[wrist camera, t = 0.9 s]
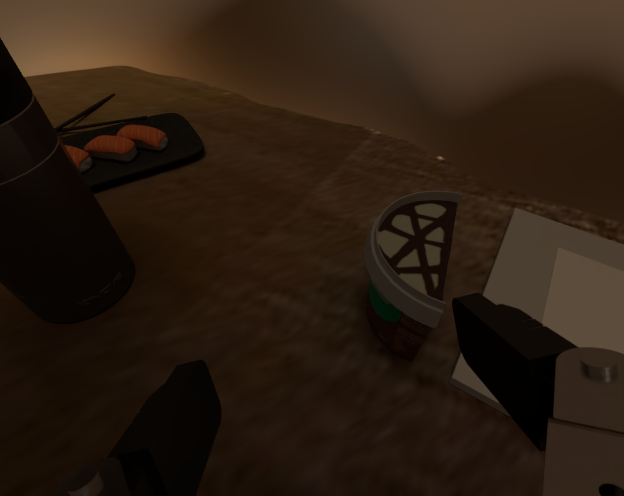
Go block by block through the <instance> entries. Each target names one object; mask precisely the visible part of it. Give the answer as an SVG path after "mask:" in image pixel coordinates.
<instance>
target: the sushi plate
mask: <svg viewBox="0 0 624 496" xmlns="http://www.w3.org/2000/svg"><path fill="white" fill-rule="evenodd" d="M114 95H115V94H112V95H110V96H108V97H106V98H105V99H103V100H101V101H100V102H98V103H96V104H95V105H93V106H91V107H90V108H88V109H86V110H85V111H83V112H81V113H80V114H78V115H76V116H75V117H73V118H71V119H70V120H68V121H66V122H65V123H63V124H61V125H60V126H58V127H56V128H55V131H56V132H57V133H60V132H66V131H72V130H78V129H84V128H90V127H96V126H102V125H108V124H114V123H121V122H125V123H121V124H117V125H112V126H108V127H104V128H100V129H96V130H92V131H87V132H83V133H79V134H75V135H71V136H67V137H63V138H60V139H61V141H62V142H63V144H64V146H65V147H66V149H67V151H68V152H69V154H70V156H71V157H72V159H73V161H74V162H75V164H76V166H77V167H78V169H79V171H80V173H81V174H82V176H83V178H84V179H85V181H86V183H87V184H88V186H89V188H90V189H91V188H94V187H98V186H101V185H104V184H108V183H111V182H115V181H118V180H121V179H125V178H128V177H131V176H135V175H138V174H141V173H145V172H148V171H152V170H155V169H158V168H162V167H165V166H168V165H171V164H175V163H178V162H181V161H184V160H187V159H190V158H192V157H194V156H196V155H198V154H200V153H201V152H202V151H203V143H202V140H201V139H200V137H199V136H198V134H197V133H196V131H195V130H194V129H193V128H192V126H191V125H190V124H189V123H188V121H187V120H186V119H185V118H184V117H182V116H181V115H179V114H176V113H166V114H160V115H155V116H150V117H147V116H142V117H136V118H129V119H123V120H116V121H110V122H103V123H96V124H90V125H83V126H77V127H70V128H63V127H65V126H67V125H68V124H70V123H72V122H74V121H75V120H77V119H79V118H81V117H83V116H84V115H86V114H88V113H90V112H92V111H93V110H95V109H97V108H99V107H100V106H102V105H103V104H104V103H105V102H107V101H108V100H109V99H111V98H112V97H113V96H114ZM127 121H129V122H127ZM61 128H63V129H61Z"/></svg>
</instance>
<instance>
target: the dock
mask: <svg viewBox="0 0 624 496" xmlns="http://www.w3.org/2000/svg"><path fill="white" fill-rule="evenodd" d="M482 295H483V296H484V297H486V298H487V299H489V300H490V301H491V302H493V303H494V304H496V305H498V304H504V305H508V306H511V307H514V308H518V309H520V310H522V311H523V312H525V313H526V314H528V315H529V316H531V317H532V319H536V320H537V321H539V322H540V323H542V324H543V326H547V327H548V328H550V329H551V330H553V331H554V332H556V333H557V334H559V335H560V336H562V337H564V338H565V339H567V340H568V341H570V342H571V343H573V344H574V345H576V346H578V347H579V348H580V347H596V348H604V349H609V350H613V351H617V352H620V353H622V354H624V245H623V244H620V243H617V242H614V241H611V240H608V239H605V238H602V237H599V236H596V235H593V234H590V233H588V232H585V231H582V230H579V229H576V228H573V227H570V226H567V225H564V224H561V223H558V222H555V221H553V220H550V219H547V218H544V217H541V216H538V215H535V214H532V213H529V212H526V211H523V210H520V209H518V208H515V209H514V211H513V213H512V214H511V217H510V220H509V222H508V225H507V228H506V230H505V233H504V236H503V238H502V241H501V244H500V246H499V249H498V252H497V254H496V257H495V259H494V262H493V265H492V267H491V270H490V273H489V275H488V278H487V281H486V283H485V286H484V289H483V291H482ZM448 383H450V384H452V385H454V386H456V387H457V388H459V389H461V390H463V391H464V392H466V393H468V394H470V395H472V396H473V397H475V398H477V399H479V400H481V401H482V402H484V403H486V404H488V405H489V406H491V407H493V408H495V409H497V410H498V411H500V412H502V413H504V414H506V415H507V416H509V417H511V416H510V415H509V414H508V412H507V411H506V410H505V409H504V408H503V406H502V405H501V404H500V403H499V402H498V400H497V399H496V398H495V397H494V396H493V395H492V393H491V392H490V391H489V390H488V389H487V387H486V386H485V385H484V384H483V383H482V381H481V380H480V379H479V378H478V377H477V375H476V374H475V373H474V372H473V371H472V369H471V368H470V367H469V366H468V364H467V363H466V361H465V360H464V358H463V355H462V353H461V350H460V352H459V355H458V357H457V360H456V363H455V365H454V368H453V371H452V373H451V376H450V379H449V381H448ZM511 418H512V417H511Z"/></svg>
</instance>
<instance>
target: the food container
mask: <svg viewBox="0 0 624 496" xmlns="http://www.w3.org/2000/svg"><path fill="white" fill-rule="evenodd" d="M462 195H463V194H461V193H456V192H449V191H425V192H418V193H413V194H409V195H407V196H404V197H401V198H400V199H398V200H396V201H394V202H393V203H391V204H390V205H389V206H388V207H387V208H386V209H385V210H384V211H383V212H382V213H381V214H380V215H379V216H378V218H377V219H376V221H375V223H374V225H373V227H372V229H371V231H370V233H369V234H368V236H367V239H366V243H365V248H364V257H365V263H366V267H367V270H368V273H369V275H370V281H369V291H368V301H367V316H368V321H369V323H370V326H371V328H372V330H373V332H374V334H375V335H376V336H377V338H378V339H379V340H380V341H381V342H382V343H383V344H384V345H385V346H386V347H387V348H388V349H389V350H391V351H392V352H393V353H395V354H397V355H398V356H400V357H402V358H404V359H406V360H409V361H411V362H412V361H413V359H414V357H415V356H416V354H417V352H418V351H419V349H420V347H421V346H422V344H423V343H424V341H425V339H426V338H427V336H428V334H429V333H430V331H431V329H432V328H435V329H436V327H437V325H438V323H439V321H440V318H441V316H442V314H443V310H444V308H445V306H446V304H447V303H445V302H443V301H442V300H443V288H444V282H445V277H446V271H447V265H448V260H449V255H450V250H451V244H452V235H453V228H454V222H455V216H456V210H457V208H458V205H459V203H460V200H461V198H462Z"/></svg>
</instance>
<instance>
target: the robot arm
mask: <svg viewBox="0 0 624 496" xmlns="http://www.w3.org/2000/svg"><path fill="white" fill-rule="evenodd" d="M133 275H134V264H133V261H132V259H131V257H130V255H129V254H128V252H127V250H126V249H125V247H124V245H123V244H122V242H121V240H120V238H119V237H118V235H117V233H116V231H115V230H114V228H113V226H112V225H111V223H110V221H109V220H108V218H107V216H106V215H105V213H104V211H103V209H102V208H101V206H100V204H99V203H98V201H97V199H96V198H95V196H94V194H93V193H92V191H91V189H90V188H89V186H88V184H87V183H86V181H85V179H84V178H83V176H82V174H81V173H80V171H79V169H78V167H77V166H76V164H75V162H74V161H73V159H72V157H71V156H70V154H69V152H68V151H67V149H66V147H65V146H64V144H63V142H62V141H61V139H60V137H59V136H58V134H57V132H56V131H55V129H54V128H53V126H52V124H51V123H50V121H49V119H48V117H47V116H46V114H45V112H44V111H43V109H42V107H41V106H40V104H39V102H38V101H37V99H36V97H35V96H34V94H33V92H32V90H31V88H30V86H29V85H28V83H27V81H26V80H25V78H24V77H23V75H22V74H21V72H20V70H19V68H18V67H17V65H16V63H15V62H14V60H13V58H12V57H11V55H10V53H9V52H8V50H7V48H6V47H5V45H4V43H3V41H2V40H1V38H0V283H1V284H3V285H4V286H5V287H6V288H7V289H8V290H9V291H10V292H11V293H12V294H14V295H15V296H16V297H17V298H18V299H19V300H20V301H21V302H23V303H24V304H25V305H26V306H27V307H28V308H29V309H31V310H32V311H33V312H34V313H35V314H36V315H37V316H38V317H40V318H42V319H44V320H46V321H49V322H55V323H69V322H74V321H79V320H83V319H85V318H88V317H91V316H93V315H95V314H97V313H99V312H101V311H103V310H105V309H106V308H108V307H109V306H111V305H112V304H113V303H115V302H116V301H117V300H118V299H119V298H120V297H121V296H122V295H123V294H124V292H125V291H126V290H127V289H128V287H129V285H130V283H131V281H132V279H133ZM452 307H453V313H454V319H455V325H456V330H457V336H458V342H459V347H460V350H461V353H462V355H463V358H464V360H465V361H466V363H467V364H468V366H469V367H470V368H471V369H472V371H473V372H474V373H475V374H476V375H477V377H478V378H479V379H480V380H481V381H482V383H483V384H484V385H485V386H486V387H487V389H488V390H489V391H490V392H491V393H492V395H493V396H494V397H495V398H496V399H497V400H498V402H499V403H500V404H501V405H502V406H503V408H504V409H505V410H506V411H507V412H508V414H509V415H510V416H511V417H512V418H513V420H514V421H515V422H516V423H517V424H518V426H519V427H520V428H521V429H522V430H523V432H524V433H525V434H526V435H527V436H528V438H529V439H530V440H531V441H532V442H533V444H534V445H535V446H536V447H537V448H538V450H539V451H544V450H546V459H545V474H544V489H543V496H624V354H622V353H620V352H617V351H613V350H609V349H604V348H596V347H580V348H579V347H578V346H576V345H574V344H573V343H571V342H570V341H568V340H567V339H565V338H564V337H562V336H560V335H559V334H557V333H556V332H554V331H553V330H551V329H550V328H548V327H547V326H543V324H542V323H540V322H539V321H537V320H536V319H532V317H531V316H529V315H528V314H526V313H525V312H523V311H522V310H520V309H518V308H514V307H511V306H508V305H504V304H498V305H496V304H494V303H493V302H491V301H490V300H489V299H487V298H486V297H484V296H483V295H482V294H480V293H474V294H470V295H466V296H462V297H458V298H454V299H453V301H452ZM220 422H221V405H220V401H219V398H218V395H217V392H216V390H215V387H214V384H213V381H212V379H211V376H210V373H209V370H208V368H207V365H206V363H205V362H204V361H203V360H197V361H193V362H189V363H185V364H181V365H178V366H176V368H175V369H174V371H173V372H172V374H171V375H170V377H169V378H168V380H167V381H166V383H165V384H164V385H162V386H161V387H160V388H159V389H158V390H157V391H156V392H154V393H153V394H152V395H151V396H150V397H149V398H148V399H147V401H146V402H145V404H144V405H143V407H142V408H141V410H140V413H138V414H137V415H136V417H135V418H134V420H133V423H132V424H130V425H129V427H128V428H127V430H126V431H125V433H124V434H123V435H122V437H121V438H120V440H119V441H118V443H117V444H116V445H115V447H114V448H113V450H112V451H111V453H110V454H109V456H108V457H107V458H105V459H101V460H98V461H96V462H94V463H91V464H89V465H88V466H86V467H84V468H83V469H81V470H79V471H78V472H77V473H75V474H74V475H73V476H71V477H70V478H69V479H68V480H67V481H66V482H65V483H63V484H62V485H61V486H60V488H59V489H58V490H57V491H56V492H55V494H54V495H53V496H195V495H196V492H197V490H198V487H199V484H200V481H201V478H202V475H203V472H204V469H205V466H206V463H207V460H208V457H209V454H210V452H211V449H212V446H213V443H214V440H215V437H216V434H217V431H218V428H219V425H220Z"/></svg>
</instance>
